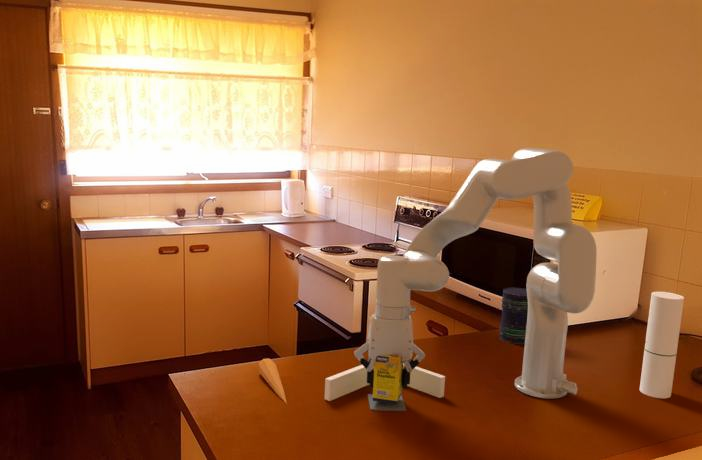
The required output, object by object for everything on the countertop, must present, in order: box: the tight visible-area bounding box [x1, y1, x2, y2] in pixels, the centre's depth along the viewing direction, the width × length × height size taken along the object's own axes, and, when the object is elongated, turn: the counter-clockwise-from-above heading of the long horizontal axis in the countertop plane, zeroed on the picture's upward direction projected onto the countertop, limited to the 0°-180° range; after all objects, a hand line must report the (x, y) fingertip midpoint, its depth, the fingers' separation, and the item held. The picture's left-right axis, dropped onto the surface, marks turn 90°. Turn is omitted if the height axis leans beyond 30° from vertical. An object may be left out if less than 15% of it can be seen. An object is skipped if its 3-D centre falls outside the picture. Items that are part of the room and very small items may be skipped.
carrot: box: [258, 358, 288, 405], centre depth 153 cm, size 20×4×4 cm, turn 22°
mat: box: [367, 393, 407, 412], centre depth 147 cm, size 8×8×1 cm
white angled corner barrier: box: [324, 363, 446, 402], centre depth 149 cm, size 18×22×5 cm
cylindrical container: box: [639, 291, 685, 399], centre depth 158 cm, size 7×7×25 cm
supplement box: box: [372, 355, 403, 404], centre depth 146 cm, size 6×6×11 cm
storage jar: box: [498, 287, 528, 345], centre depth 196 cm, size 10×10×15 cm
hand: (387, 385), depth 146 cm, fingers closed on supplement box, 7 cm apart
